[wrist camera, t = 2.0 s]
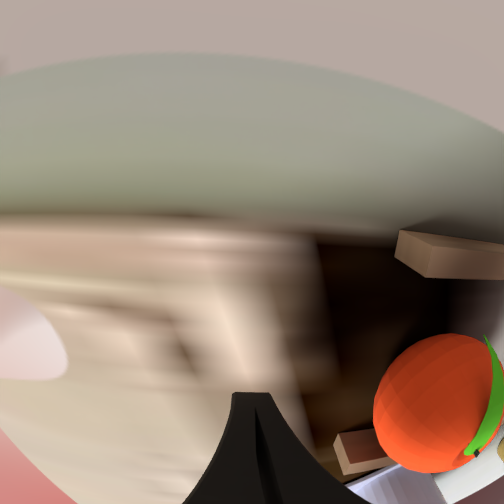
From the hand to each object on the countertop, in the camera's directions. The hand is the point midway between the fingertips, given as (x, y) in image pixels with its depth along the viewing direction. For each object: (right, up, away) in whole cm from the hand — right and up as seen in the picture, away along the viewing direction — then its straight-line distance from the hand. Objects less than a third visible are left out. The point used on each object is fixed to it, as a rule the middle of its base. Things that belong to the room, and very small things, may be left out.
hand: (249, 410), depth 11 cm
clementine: (+9, 0, +4) cm, 10 cm away
